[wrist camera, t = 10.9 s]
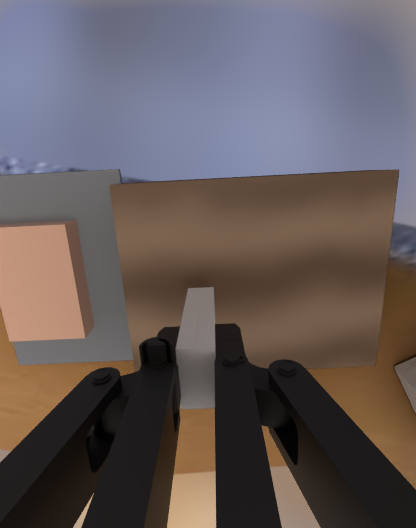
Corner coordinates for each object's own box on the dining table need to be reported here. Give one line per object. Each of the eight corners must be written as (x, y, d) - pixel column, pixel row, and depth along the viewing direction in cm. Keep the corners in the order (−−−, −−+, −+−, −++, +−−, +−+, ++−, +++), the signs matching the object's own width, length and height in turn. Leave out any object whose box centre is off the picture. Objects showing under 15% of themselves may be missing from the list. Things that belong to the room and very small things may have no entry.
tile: (9, 341, 24) (24, 329, 26) (85, 338, 24) (94, 326, 26) (-20, 228, 22) (-2, 224, 24) (64, 224, 22) (76, 220, 23)
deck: (351, 338, 27) (375, 365, 23) (145, 347, 27) (135, 376, 23) (367, 170, 23) (399, 169, 19) (125, 183, 23) (109, 184, 19)
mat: (143, 357, 27) (143, 359, 27) (21, 363, 27) (19, 365, 27) (120, 169, 23) (118, 169, 22) (-27, 177, 23) (-30, 177, 23)
